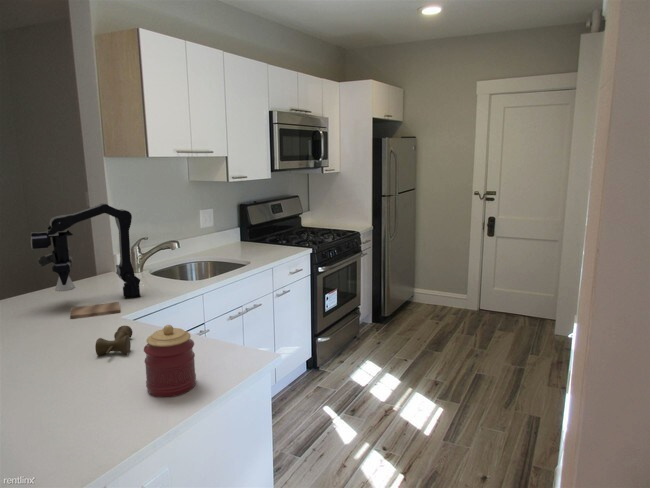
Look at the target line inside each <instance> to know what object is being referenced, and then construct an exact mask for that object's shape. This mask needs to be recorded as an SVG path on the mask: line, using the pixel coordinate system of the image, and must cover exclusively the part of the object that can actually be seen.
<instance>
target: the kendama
mask: <svg viewBox="0 0 650 488" xmlns="http://www.w3.org/2000/svg"><path fill="white" fill-rule="evenodd" d="M113 336H114V337H113V338H114V340H108V339H105V338H103V337H99V338H97V339H96V342H95V353H96V355H97V356H99V357H100V356H103V355H105V354H109V353H110V352H120V353H122V354H124V355H129V353H130V352H131V348H132V347H131V338H132V337H133V329H132V328H131V326H129V325H121V326H119V327H118V328H117V329H116V332H114V335H113Z"/></svg>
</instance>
